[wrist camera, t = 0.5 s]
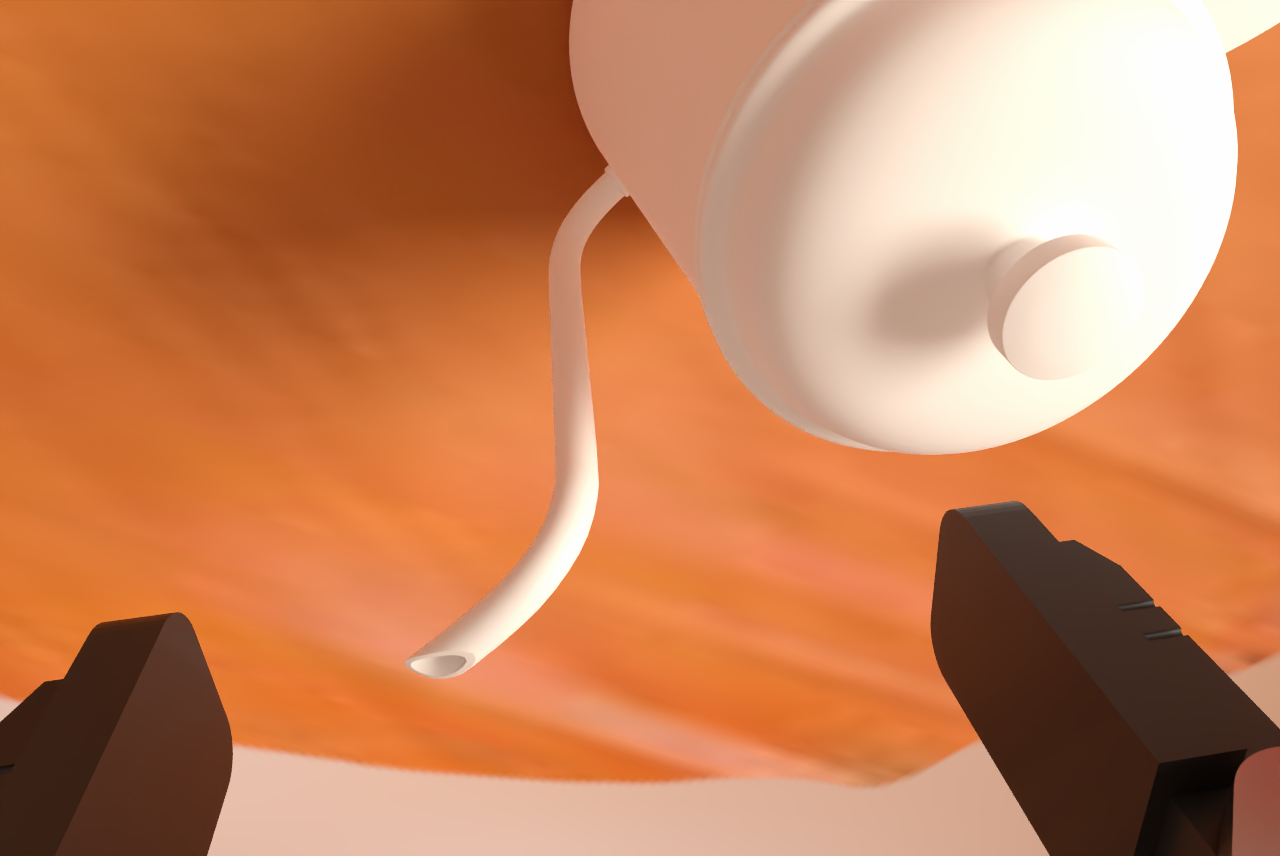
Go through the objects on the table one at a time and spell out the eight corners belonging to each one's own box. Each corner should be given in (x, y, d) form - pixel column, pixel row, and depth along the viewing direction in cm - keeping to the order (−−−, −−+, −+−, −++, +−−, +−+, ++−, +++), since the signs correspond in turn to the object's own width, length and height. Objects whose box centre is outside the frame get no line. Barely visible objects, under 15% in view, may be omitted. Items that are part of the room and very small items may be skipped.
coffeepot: (302, 176, 29) (123, 618, 13) (1023, -480, 23) (2183, -1041, 8) (537, 398, 34) (600, 888, 19) (1163, -82, 29) (1987, 64, 13)
